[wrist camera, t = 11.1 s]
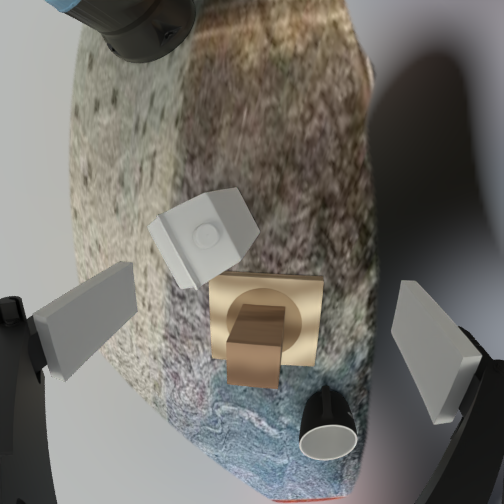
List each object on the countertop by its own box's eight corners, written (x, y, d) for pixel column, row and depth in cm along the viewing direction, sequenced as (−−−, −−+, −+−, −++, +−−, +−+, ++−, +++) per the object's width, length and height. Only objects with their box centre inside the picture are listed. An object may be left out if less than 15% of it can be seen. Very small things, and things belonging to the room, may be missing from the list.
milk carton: (217, 253, 45) (164, 304, 27) (194, 210, 44) (126, 234, 26) (260, 232, 43) (233, 273, 25) (237, 186, 42) (191, 194, 24)
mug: (350, 417, 49) (356, 457, 39) (302, 422, 51) (300, 462, 41) (351, 366, 46) (360, 406, 37) (297, 372, 48) (295, 413, 38)
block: (243, 303, 44) (226, 342, 33) (285, 306, 43) (280, 346, 33) (242, 340, 45) (227, 384, 35) (283, 343, 45) (277, 388, 34)
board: (212, 270, 46) (208, 274, 44) (322, 276, 44) (323, 281, 41) (215, 351, 49) (211, 358, 47) (313, 359, 47) (314, 366, 45)
